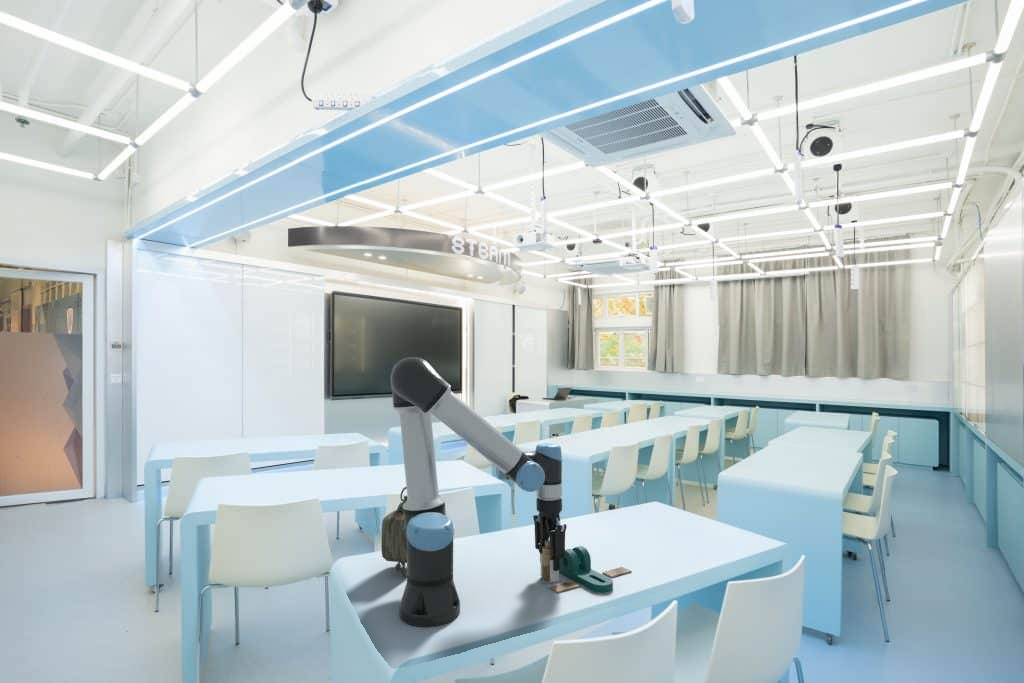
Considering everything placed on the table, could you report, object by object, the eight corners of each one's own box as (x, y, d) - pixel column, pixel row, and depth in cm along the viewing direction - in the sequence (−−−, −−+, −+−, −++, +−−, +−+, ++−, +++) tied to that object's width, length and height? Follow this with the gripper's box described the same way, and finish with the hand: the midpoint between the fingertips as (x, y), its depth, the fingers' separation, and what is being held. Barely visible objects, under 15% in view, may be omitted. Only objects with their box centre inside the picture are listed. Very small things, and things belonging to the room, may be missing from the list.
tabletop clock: (407, 580, 157) (408, 493, 158) (379, 577, 159) (380, 491, 160) (427, 562, 171) (427, 482, 172) (401, 559, 173) (401, 481, 174)
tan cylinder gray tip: (547, 583, 154) (546, 544, 155) (539, 578, 158) (539, 540, 158) (558, 580, 156) (558, 541, 157) (551, 575, 160) (551, 538, 160)
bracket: (558, 574, 161) (558, 547, 162) (576, 569, 165) (575, 543, 165) (599, 595, 146) (599, 566, 147) (617, 589, 150) (617, 561, 150)
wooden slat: (557, 593, 147) (557, 591, 147) (548, 588, 151) (548, 586, 151) (631, 572, 162) (631, 570, 162) (622, 568, 166) (622, 566, 166)
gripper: (577, 501, 153) (578, 585, 152) (542, 490, 167) (543, 566, 166) (556, 505, 149) (557, 591, 148) (522, 493, 163) (523, 571, 162)
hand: (549, 578), depth 157 cm, fingers closed on tan cylinder gray tip, 4 cm apart
